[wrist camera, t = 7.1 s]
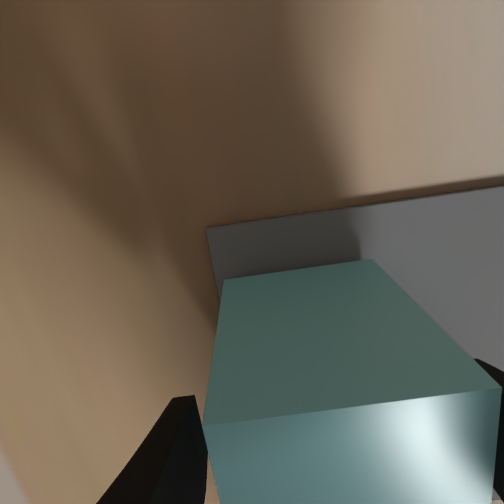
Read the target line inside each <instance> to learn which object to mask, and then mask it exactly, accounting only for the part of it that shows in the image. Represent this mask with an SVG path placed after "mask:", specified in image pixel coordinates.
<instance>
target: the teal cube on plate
mask: <svg viewBox="0 0 504 504" xmlns="http://www.w3.org/2000/svg"><path fill="white" fill-rule="evenodd" d="M501 393H502V387H501V386H500V385H499V384H498V383H497V382H496V381H495V380H494V379H493V378H492V377H491V376H490V375H489V374H488V373H487V372H486V371H485V370H484V369H483V368H482V367H481V366H480V365H479V364H478V363H477V362H476V361H475V360H474V359H473V358H472V357H471V356H470V355H469V354H468V353H467V352H466V351H465V350H464V349H463V348H462V347H461V346H460V345H459V344H458V343H457V342H456V341H455V340H454V339H453V338H452V337H451V336H449V335H448V334H447V333H446V332H445V331H444V330H443V329H442V328H441V327H440V326H439V325H438V324H437V323H436V322H435V321H434V320H433V319H432V318H431V317H430V316H429V315H428V314H427V313H426V312H425V311H424V310H423V309H422V308H421V307H420V306H419V305H418V304H417V303H416V302H415V301H414V300H413V299H412V298H411V297H410V296H409V295H408V294H407V293H406V292H405V291H404V290H403V289H402V288H401V287H400V286H399V285H398V284H397V283H396V282H395V281H394V280H393V279H392V278H391V277H390V276H389V275H388V274H387V273H386V272H385V271H384V270H383V269H382V268H381V267H380V266H379V265H378V264H377V263H376V262H375V261H374V260H373V259H366V260H359V261H352V262H345V263H338V264H331V265H324V266H317V267H310V268H303V269H296V270H289V271H282V272H275V273H268V274H261V275H254V276H247V277H240V278H233V279H226V280H224V284H223V291H222V297H221V304H220V310H219V317H218V324H217V330H216V337H215V344H214V350H213V357H212V364H211V370H210V377H209V383H208V390H207V397H206V403H205V410H204V417H203V423H202V428H203V433H204V437H205V441H206V445H207V449H208V453H209V457H210V461H211V466H212V470H213V474H214V478H215V482H216V486H217V490H218V495H219V499H220V503H221V504H491V501H492V490H493V480H494V469H495V458H496V447H497V436H498V426H499V415H500V404H501Z"/></svg>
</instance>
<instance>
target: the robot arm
mask: <svg viewBox="0 0 504 504" xmlns="http://www.w3.org/2000/svg"><path fill="white" fill-rule="evenodd" d="M474 360H475V361H476V362H477V363H478V364H479V365H480V366H481V367H482V368H483V369H484V370H485V371H486V372H487V373H488V374H489V375H490V376H491V377H492V378H493V379H494V380H495V381H496V382H497V383H498V384H499V385H500V386H501V387H502V393H501V404H500V415H499V426H498V436H497V447H496V458H495V469H494V480H493V488H494V490H495V491H496V493H497V494H498V495H499V497H500V498H501V500H502V501H503V502H504V372H503V371H501V370H500V369H498V368H496V367H494V366H492V365H490V364H488V363H486V362H484V361H482V360H480V359H478V358H476V359H474ZM207 461H208V450H207V445H206V441H205V437H204V433H203V428H202V424H201V420H200V416H199V412H198V407H197V403H196V399H195V395H191V396H183V397H175V398H173V399H172V400H171V401H170V402H169V404H168V405H167V407H166V408H165V410H164V411H163V413H162V414H161V416H160V417H159V419H158V420H157V422H156V423H155V425H154V426H153V428H152V429H151V431H150V432H149V434H148V435H147V437H146V438H145V439H144V441H143V442H142V444H141V445H140V447H139V448H138V449H137V451H136V452H135V453H134V455H133V456H132V458H131V459H130V460H129V462H128V463H127V465H126V466H125V467H124V469H123V470H122V471H121V473H120V474H119V475H118V477H117V478H116V479H115V480H114V482H113V483H112V484H111V486H110V487H109V488H108V489H107V491H106V492H105V493H104V494H103V496H102V497H101V498H100V500H99V501H98V502H97V503H96V504H204V501H205V494H206V481H207Z"/></svg>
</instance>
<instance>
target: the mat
mask: <svg viewBox="0 0 504 504" xmlns="http://www.w3.org/2000/svg"><path fill="white" fill-rule="evenodd" d="M206 234H207V240H208V245H209V250H210V255H211V261H212V266H213V271H214V276H215V282H216V287H217V292H218V297H219V303H220V304H221V297H222V291H223V284H224V280H226V279H233V278H240V277H247V276H254V275H261V274H268V273H275V272H282V271H289V270H296V269H303V268H310V267H317V266H324V265H331V264H338V263H345V262H352V261H359V260H366V259H373V260H374V261H375V262H376V263H377V264H378V265H379V266H380V267H381V268H382V269H383V270H384V271H385V272H386V273H387V274H388V275H389V276H390V277H391V278H392V279H393V280H394V281H395V282H396V283H397V284H398V285H399V286H400V287H401V288H402V289H403V290H404V291H405V292H406V293H407V294H408V295H409V296H410V297H411V298H412V299H413V300H414V301H415V302H416V303H417V304H418V305H419V306H420V307H421V308H422V309H423V310H424V311H425V312H426V313H427V314H428V315H429V316H430V317H431V318H432V319H433V320H434V321H435V322H436V323H437V324H438V325H439V326H440V327H441V328H442V329H443V330H444V331H445V332H446V333H447V334H448V335H449V336H451V337H452V338H453V339H454V340H455V341H456V342H457V343H458V344H459V345H460V346H461V347H462V348H463V349H464V350H465V351H466V352H467V353H468V354H469V355H470V356H471V357H472V358H473V359H476V358H478V359H480V360H482V361H484V362H486V363H488V364H490V365H492V366H494V367H496V368H498V369H500V370H501V371H503V372H504V185H499V186H492V187H485V188H478V189H471V190H464V191H457V192H450V193H443V194H436V195H429V196H422V197H415V198H408V199H401V200H394V201H387V202H380V203H373V204H366V205H359V206H353V207H346V208H339V209H332V210H325V211H318V212H311V213H304V214H297V215H290V216H283V217H276V218H269V219H262V220H255V221H248V222H241V223H234V224H227V225H220V226H213V227H206ZM493 500H501V498H500V497H499V495H498V494H497V493H496V491H495V490H494V488H493V490H492V501H493Z"/></svg>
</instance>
